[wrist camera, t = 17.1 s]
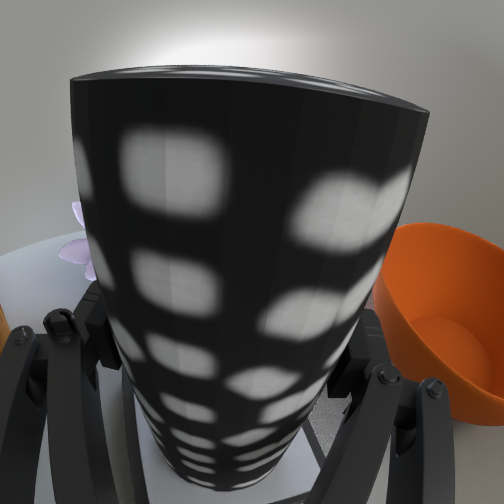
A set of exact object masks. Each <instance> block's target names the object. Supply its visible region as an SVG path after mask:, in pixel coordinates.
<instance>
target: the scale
mask: <svg viewBox="0 0 504 504" xmlns="http://www.w3.org/2000/svg"><path fill="white" fill-rule="evenodd" d="M122 387H123V403H124V416H125V427H126V437H127V446H128V454H129V462H130V469H131V476H132V482H133V488H134V494H135V500H136V504H300V503H303V502H305V500H306V498H307V496H308V494H309V492H310V490H311V488H312V487H313V485H314V483H315V481H316V479H317V476H318V474H319V472H320V470H321V468H322V466H323V464H324V462H325V460H326V458H325V456H324V454H323V451H322V449H321V447H320V445H319V443H318V440H317V438H316V436H315V434H314V431H313V429H312V427H311V425H310V422H309V420H308V418H306V420H305V422H304V423H303V425H302V427H301V428H300V430H299V431H298V433H297V435H296V436H295V438H294V439H293V441H292V443H291V444H290V446H289V447H288V449H287V450H286V452H285V453H284V455H283V456H282V458H281V459H280V461H279V462H278V464H277V465H276V467H275V468H274V470H273V471H272V472H271V473H270V474H269V475H268V476H267V477H266V478H265V479H263V480H262V481H260V482H258V483H257V484H255V485H253V486H251V487H248V488H245V489H242V490H237V491H231V492H215V491H210V490H206V489H201V488H199V487H197V486H194V485H192V484H190V483H188V482H187V481H185V480H184V479H182V478H181V477H179V476H178V475H177V474H176V473H175V472H174V471H173V470H172V469H171V468H170V466H169V465H168V463H167V462H166V460H165V458H164V457H163V455H162V453H161V451H160V449H159V447H158V445H157V443H156V441H155V439H154V437H153V435H152V432H151V430H150V428H149V426H148V424H147V422H146V419H145V417H144V415H143V413H142V410H141V408H140V406H139V403H138V401H137V399H136V396H135V394H134V391H133V389H132V386H131V384H130V381H129V379H128V376H127V374H126V371H125V368H124V366H123V363H122Z"/></svg>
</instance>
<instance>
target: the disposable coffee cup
mask: <svg viewBox="0 0 504 504" xmlns="http://www.w3.org/2000/svg"><path fill="white" fill-rule="evenodd" d="M10 333H11V331H10V329H9V326H8V324H7V321H6V319H5V316H4V313H3V311H2V308H1V305H0V355H1V353H2V350H3V348H4V345H5V343H6V341H7V338H8V336H9V334H10Z"/></svg>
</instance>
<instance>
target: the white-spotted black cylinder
mask: <svg viewBox="0 0 504 504" xmlns="http://www.w3.org/2000/svg"><path fill="white" fill-rule="evenodd" d="M70 104H71V123H72V136H73V148H74V158H75V167H76V174H77V181H78V189H79V195H80V202H81V208H82V214H83V220H84V225H85V230H86V235H87V240H88V245H89V249H90V254H91V258H92V263H93V267H94V271H95V275H96V279H97V283H98V287H99V290H100V294H101V298H102V301H103V305H104V308H105V311H106V315H107V318H108V321H109V324H110V328H111V331H112V334H113V337H114V340H115V343H116V346H117V349H118V352H119V354H120V357H121V360H122V363H123V366H124V368H125V371H126V374H127V376H128V379H129V381H130V384H131V386H132V389H133V391H134V394H135V396H136V399H137V401H138V403H139V406H140V408H141V410H142V413H143V415H144V417H145V419H146V422H147V424H148V426H149V428H150V430H151V432H152V435H153V437H154V439H155V441H156V443H157V445H158V447H159V449H160V451H161V453H162V455H163V457H164V458H165V460H166V462H167V463H168V465H169V466H170V468H171V469H172V470H173V471H174V472H175V473H176V474H177V475H178V476H179V477H181V478H182V479H184V480H185V481H187V482H188V483H190V484H192V485H194V486H197V487H199V488H201V489H206V490H210V491H215V492H231V491H237V490H242V489H245V488H248V487H251V486H253V485H255V484H257V483H258V482H260V481H262V480H263V479H265V478H266V477H267V476H268V475H269V474H270V473H271V472H272V471H273V470H274V468H275V467H276V465H277V464H278V462H279V461H280V459H281V458H282V456H283V455H284V453H285V452H286V450H287V449H288V447H289V446H290V444H291V443H292V441H293V439H294V438H295V436H296V435H297V433H298V431H299V430H300V428H301V427H302V425H303V423H304V422H305V420H306V418H307V417H308V415H309V413H310V412H311V410H312V408H313V406H314V405H315V403H316V401H317V400H318V398H319V396H320V394H321V392H322V391H323V389H324V387H325V385H326V383H327V382H328V380H329V378H330V376H331V374H332V372H333V370H334V368H335V367H336V365H337V363H338V361H339V359H340V357H341V355H342V353H343V351H344V349H345V347H346V345H347V343H348V341H349V339H350V337H351V335H352V333H353V331H354V328H355V326H356V324H357V322H358V320H359V318H360V316H361V313H362V311H363V309H364V307H365V305H366V302H367V300H368V298H369V295H370V293H371V291H372V289H373V286H374V284H375V281H376V279H377V277H378V274H379V272H380V269H381V267H382V264H383V262H384V259H385V257H386V254H387V251H388V249H389V246H390V244H391V241H392V238H393V235H394V233H395V230H396V227H397V224H398V222H399V218H400V215H401V213H402V210H403V207H404V204H405V200H406V198H407V195H408V191H409V188H410V185H411V182H412V179H413V175H414V172H415V168H416V165H417V161H418V158H419V154H420V151H421V147H422V142H423V139H424V135H425V131H426V127H427V123H428V118H429V114H430V112H429V111H428V110H426V109H424V108H422V107H419V106H417V105H415V104H412V103H410V102H407V101H404V100H402V99H399V98H396V97H393V96H390V95H387V94H384V93H380V92H377V91H374V90H370V89H366V88H363V87H359V86H355V85H351V84H347V83H343V82H338V81H334V80H329V79H325V78H320V77H314V76H308V75H303V74H297V73H290V72H283V71H276V70H268V69H258V68H248V67H233V66H214V65H169V66H168V65H166V66H147V67H135V68H125V69H116V70H109V71H103V72H96V73H91V74H86V75H82V76H78V77H74V78H72V79H70Z"/></svg>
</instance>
